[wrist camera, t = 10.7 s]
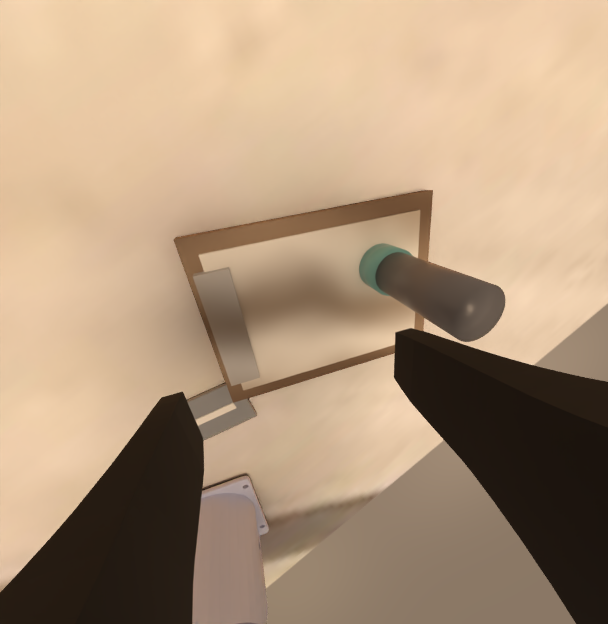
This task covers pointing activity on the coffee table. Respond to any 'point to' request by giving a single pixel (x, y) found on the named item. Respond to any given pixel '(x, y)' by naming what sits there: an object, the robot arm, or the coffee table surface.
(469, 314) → the marker
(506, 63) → the coffee table surface
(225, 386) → the grey slotted plate
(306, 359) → the brown picture frame
